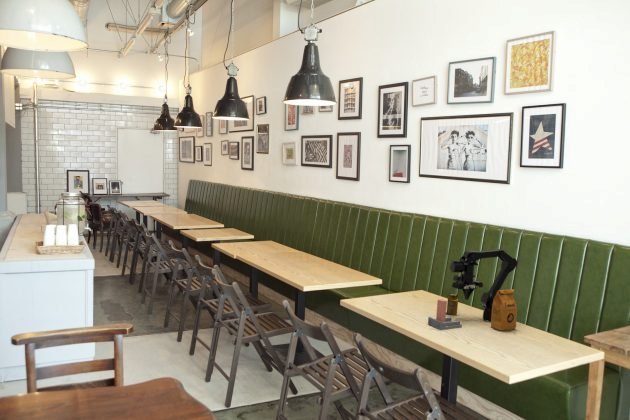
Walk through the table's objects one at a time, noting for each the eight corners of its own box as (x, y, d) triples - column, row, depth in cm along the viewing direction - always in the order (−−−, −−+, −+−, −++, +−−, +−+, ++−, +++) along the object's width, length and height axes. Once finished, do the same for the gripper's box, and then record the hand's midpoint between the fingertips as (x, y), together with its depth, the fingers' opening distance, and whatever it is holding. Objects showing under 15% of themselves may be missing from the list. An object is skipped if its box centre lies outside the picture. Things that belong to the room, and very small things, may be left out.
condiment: (459, 314, 316) (461, 294, 315) (452, 317, 310) (453, 296, 309) (449, 311, 321) (450, 292, 320) (441, 314, 315) (442, 294, 314)
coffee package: (518, 331, 289) (522, 291, 287) (500, 332, 284) (503, 292, 283) (506, 325, 298) (509, 287, 296) (487, 326, 294) (491, 287, 292)
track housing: (448, 321, 299) (449, 314, 299) (461, 327, 290) (462, 319, 290) (427, 324, 292) (428, 317, 292) (440, 330, 283) (441, 322, 283)
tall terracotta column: (439, 322, 293) (441, 298, 291) (446, 325, 288) (447, 301, 287) (434, 322, 291) (436, 299, 290) (441, 325, 286) (443, 301, 285)
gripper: (470, 269, 314) (468, 295, 315) (446, 270, 305) (444, 297, 306) (484, 273, 304) (482, 299, 305) (460, 274, 295) (458, 302, 296)
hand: (466, 299), depth 303 cm, fingers closed
